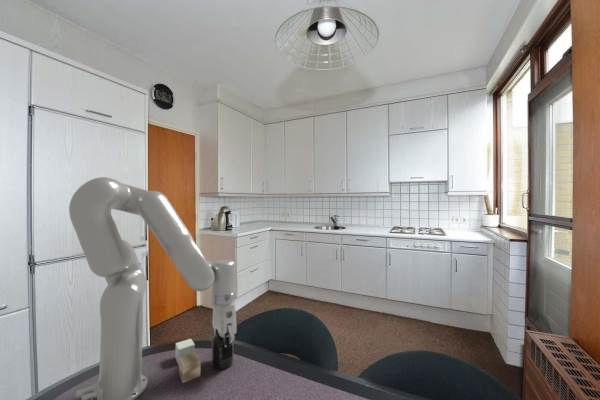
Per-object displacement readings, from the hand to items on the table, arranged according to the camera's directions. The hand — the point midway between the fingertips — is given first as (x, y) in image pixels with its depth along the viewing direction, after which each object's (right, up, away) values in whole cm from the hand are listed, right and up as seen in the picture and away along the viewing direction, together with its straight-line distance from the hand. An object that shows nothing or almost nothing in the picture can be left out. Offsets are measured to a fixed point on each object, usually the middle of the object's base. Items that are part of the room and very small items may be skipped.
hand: (222, 352), depth 80 cm
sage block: (-14, -4, +3) cm, 15 cm away
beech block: (-8, -4, -6) cm, 11 cm away
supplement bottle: (0, -4, 0) cm, 4 cm away
